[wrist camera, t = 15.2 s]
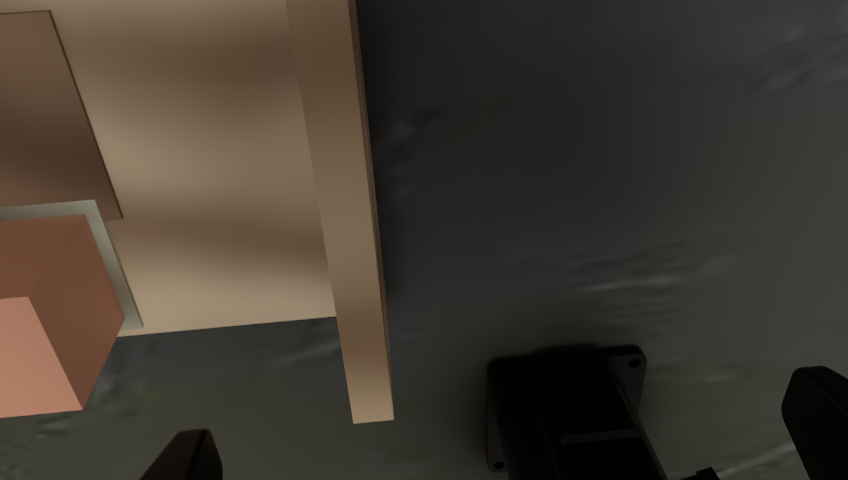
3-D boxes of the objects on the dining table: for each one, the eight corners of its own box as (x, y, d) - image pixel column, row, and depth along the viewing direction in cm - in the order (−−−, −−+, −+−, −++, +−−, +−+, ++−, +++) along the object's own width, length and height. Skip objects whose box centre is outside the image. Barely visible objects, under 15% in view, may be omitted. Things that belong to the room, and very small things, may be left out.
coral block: (125, 318, 23) (82, 409, 19) (1, 329, 22) (-65, 424, 19) (84, 214, 20) (28, 296, 17) (-54, 226, 20) (-140, 311, 17)
